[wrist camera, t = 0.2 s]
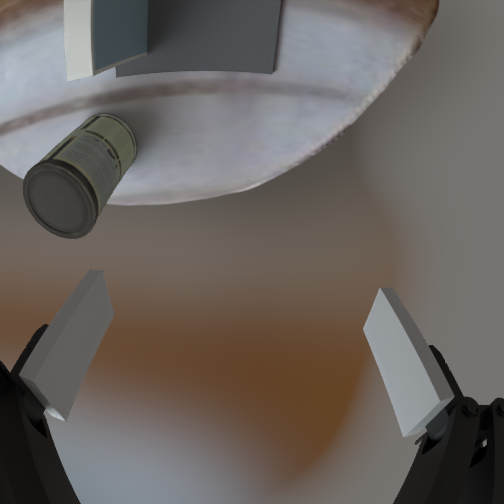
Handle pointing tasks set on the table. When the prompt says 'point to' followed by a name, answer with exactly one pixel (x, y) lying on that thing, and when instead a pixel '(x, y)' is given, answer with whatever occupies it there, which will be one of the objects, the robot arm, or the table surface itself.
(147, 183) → the table surface
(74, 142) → the coffee can
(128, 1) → the tile
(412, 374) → the robot arm
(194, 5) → the mat
